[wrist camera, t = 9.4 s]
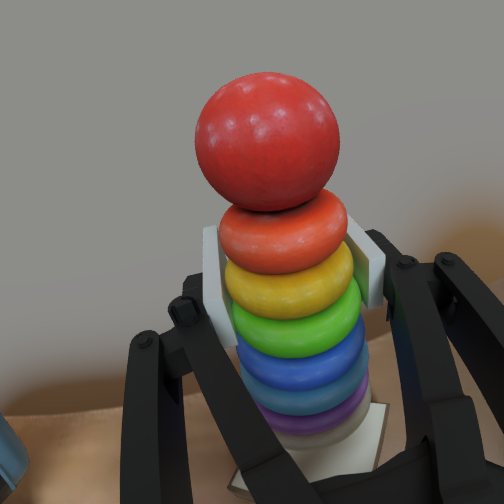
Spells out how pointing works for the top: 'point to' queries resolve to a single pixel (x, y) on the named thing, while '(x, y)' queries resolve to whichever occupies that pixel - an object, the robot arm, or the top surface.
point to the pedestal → (336, 453)
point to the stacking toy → (287, 257)
